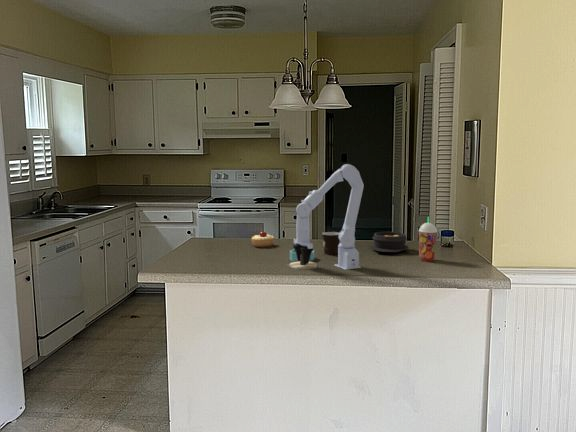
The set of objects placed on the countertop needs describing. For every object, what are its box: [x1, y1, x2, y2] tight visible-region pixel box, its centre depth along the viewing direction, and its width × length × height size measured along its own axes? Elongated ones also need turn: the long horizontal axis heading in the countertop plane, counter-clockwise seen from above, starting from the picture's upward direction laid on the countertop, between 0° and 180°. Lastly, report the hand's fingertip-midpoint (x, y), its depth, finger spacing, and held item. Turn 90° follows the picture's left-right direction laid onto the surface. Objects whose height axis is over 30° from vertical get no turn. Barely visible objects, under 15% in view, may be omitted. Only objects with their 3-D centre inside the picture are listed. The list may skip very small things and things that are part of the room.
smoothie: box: [417, 216, 438, 263], centre depth 248 cm, size 8×8×20 cm
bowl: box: [289, 248, 315, 262], centre depth 252 cm, size 11×11×4 cm
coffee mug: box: [321, 231, 340, 256], centre depth 265 cm, size 12×9×10 cm
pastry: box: [251, 228, 275, 248], centre depth 285 cm, size 12×12×9 cm
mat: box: [285, 263, 323, 271], centre depth 238 cm, size 12×12×1 cm
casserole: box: [370, 231, 410, 254], centre depth 271 cm, size 25×19×8 cm
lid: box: [288, 254, 318, 270], centre depth 238 cm, size 12×12×5 cm
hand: (303, 262), depth 238 cm, fingers open, 5 cm apart
